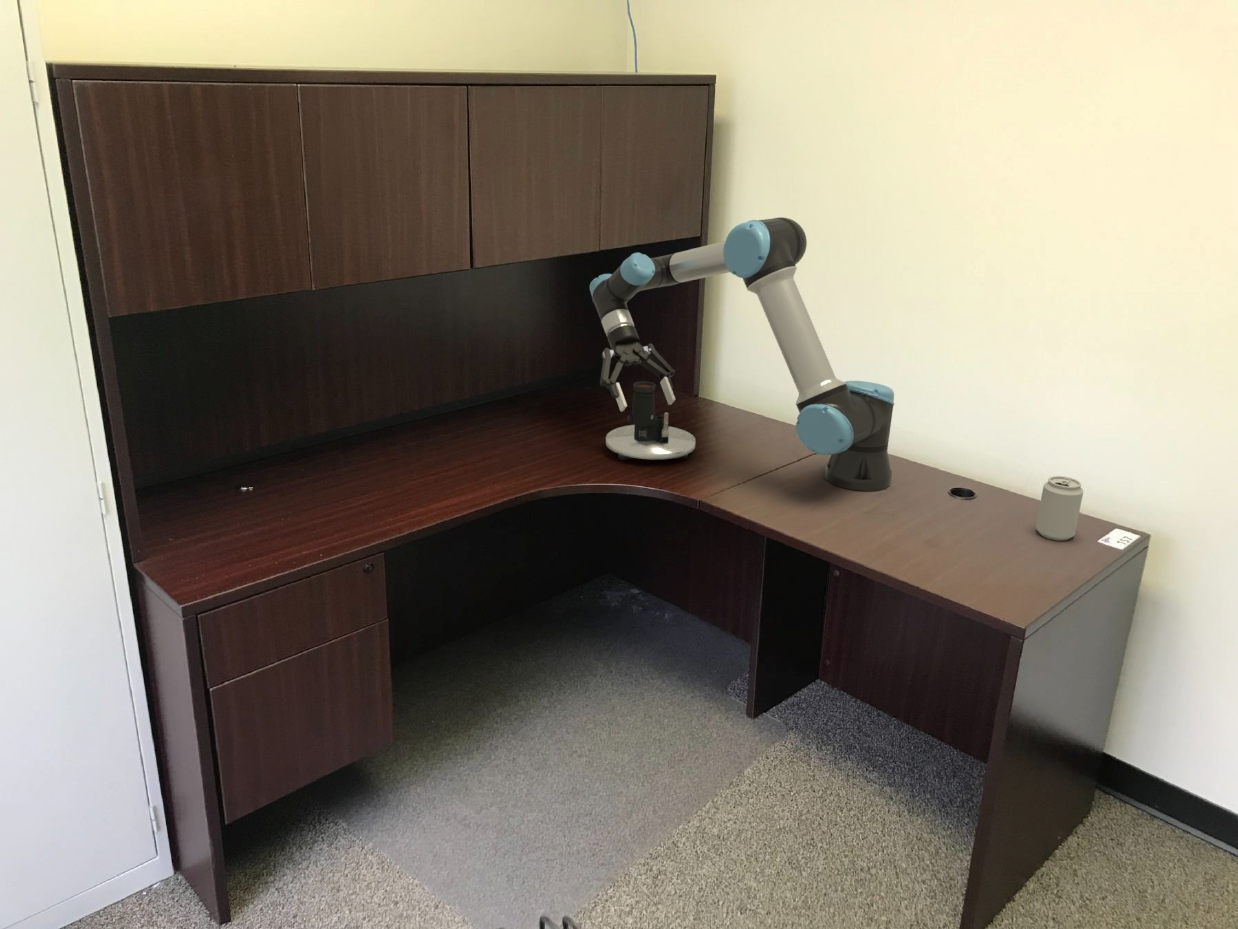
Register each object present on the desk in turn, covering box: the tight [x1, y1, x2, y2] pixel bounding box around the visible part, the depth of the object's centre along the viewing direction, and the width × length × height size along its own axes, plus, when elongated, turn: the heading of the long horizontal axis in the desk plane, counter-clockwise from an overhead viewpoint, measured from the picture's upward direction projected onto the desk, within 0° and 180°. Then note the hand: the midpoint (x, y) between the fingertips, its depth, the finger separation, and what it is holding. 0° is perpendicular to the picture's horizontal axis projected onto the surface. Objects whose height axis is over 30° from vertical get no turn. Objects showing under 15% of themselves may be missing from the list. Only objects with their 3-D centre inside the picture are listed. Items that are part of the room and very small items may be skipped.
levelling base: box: [605, 424, 696, 461], centre depth 249 cm, size 22×22×4 cm
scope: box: [626, 380, 670, 443], centre depth 246 cm, size 8×14×10 cm
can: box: [1035, 475, 1084, 541], centre depth 207 cm, size 8×8×12 cm
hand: (648, 405), depth 247 cm, fingers open, 13 cm apart
